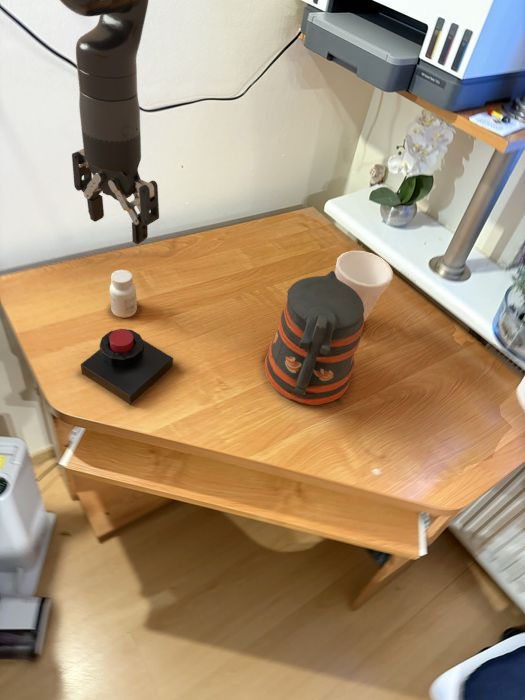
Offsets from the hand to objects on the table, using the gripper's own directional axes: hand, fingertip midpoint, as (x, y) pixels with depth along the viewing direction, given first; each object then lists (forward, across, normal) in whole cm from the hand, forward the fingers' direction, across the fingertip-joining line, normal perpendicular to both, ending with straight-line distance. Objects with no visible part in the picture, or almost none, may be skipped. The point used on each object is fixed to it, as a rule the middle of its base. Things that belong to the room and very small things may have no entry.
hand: (118, 229), depth 80 cm
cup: (+17, -33, -24) cm, 44 cm away
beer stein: (+17, -34, -6) cm, 39 cm away
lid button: (+13, -8, +9) cm, 18 cm away
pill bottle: (+17, 0, 0) cm, 17 cm away
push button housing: (+17, -10, +10) cm, 22 cm away
